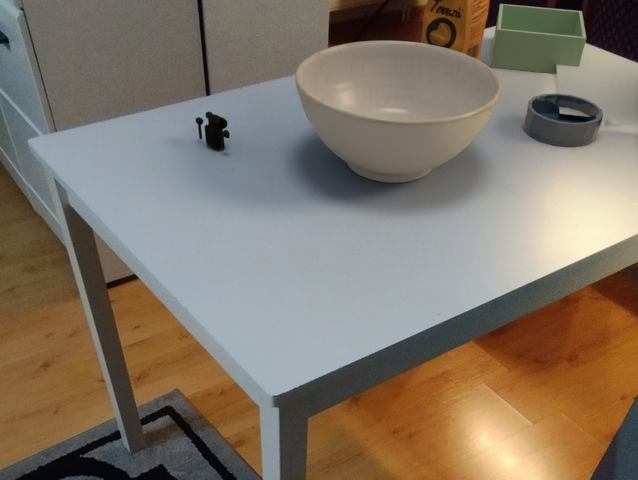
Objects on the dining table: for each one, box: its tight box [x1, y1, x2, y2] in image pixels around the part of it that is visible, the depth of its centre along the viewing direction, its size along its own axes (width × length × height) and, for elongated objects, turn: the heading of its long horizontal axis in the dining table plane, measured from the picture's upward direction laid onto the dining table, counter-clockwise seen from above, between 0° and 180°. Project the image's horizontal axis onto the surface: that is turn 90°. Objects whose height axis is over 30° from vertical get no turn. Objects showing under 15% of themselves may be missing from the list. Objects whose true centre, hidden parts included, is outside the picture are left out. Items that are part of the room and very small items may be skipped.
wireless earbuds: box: [195, 111, 231, 151], centre depth 97 cm, size 7×2×5 cm, turn 48°
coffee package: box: [420, 0, 491, 61], centre depth 114 cm, size 10×12×22 cm
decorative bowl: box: [294, 40, 503, 184], centre depth 93 cm, size 27×27×12 cm
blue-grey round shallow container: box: [522, 93, 604, 148], centre depth 104 cm, size 11×11×4 cm
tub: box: [489, 3, 587, 75], centre depth 126 cm, size 15×15×6 cm
